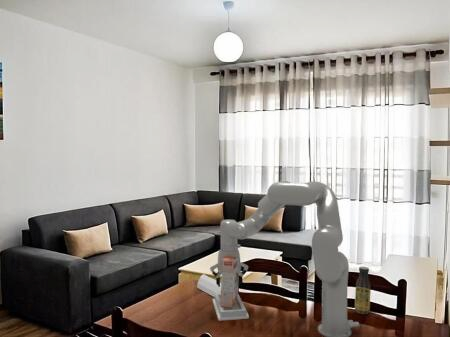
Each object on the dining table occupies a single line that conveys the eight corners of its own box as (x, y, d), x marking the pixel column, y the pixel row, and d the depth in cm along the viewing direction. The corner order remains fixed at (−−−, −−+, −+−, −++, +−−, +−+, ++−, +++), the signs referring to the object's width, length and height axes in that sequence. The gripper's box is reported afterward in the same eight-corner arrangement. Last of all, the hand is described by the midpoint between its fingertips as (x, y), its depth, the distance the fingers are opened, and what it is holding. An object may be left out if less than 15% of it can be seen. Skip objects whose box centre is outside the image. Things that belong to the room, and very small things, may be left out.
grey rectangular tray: (239, 299, 192) (239, 292, 191) (248, 318, 170) (248, 310, 170) (212, 301, 190) (212, 293, 190) (218, 320, 168) (218, 312, 168)
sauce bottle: (353, 313, 174) (353, 268, 173) (356, 308, 179) (356, 264, 179) (369, 316, 171) (369, 270, 170) (371, 311, 176) (371, 266, 176)
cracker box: (233, 308, 172) (234, 260, 171) (219, 307, 173) (221, 259, 172) (238, 296, 186) (240, 252, 184) (226, 295, 187) (227, 251, 186)
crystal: (191, 281, 208) (216, 294, 188) (202, 272, 212) (227, 284, 192) (198, 291, 211) (223, 306, 191) (208, 282, 214) (233, 296, 194)
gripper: (246, 244, 184) (246, 281, 184) (208, 246, 181) (209, 283, 182) (249, 248, 176) (250, 287, 177) (210, 250, 174) (211, 289, 174)
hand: (229, 285), depth 179 cm, fingers open, 9 cm apart
